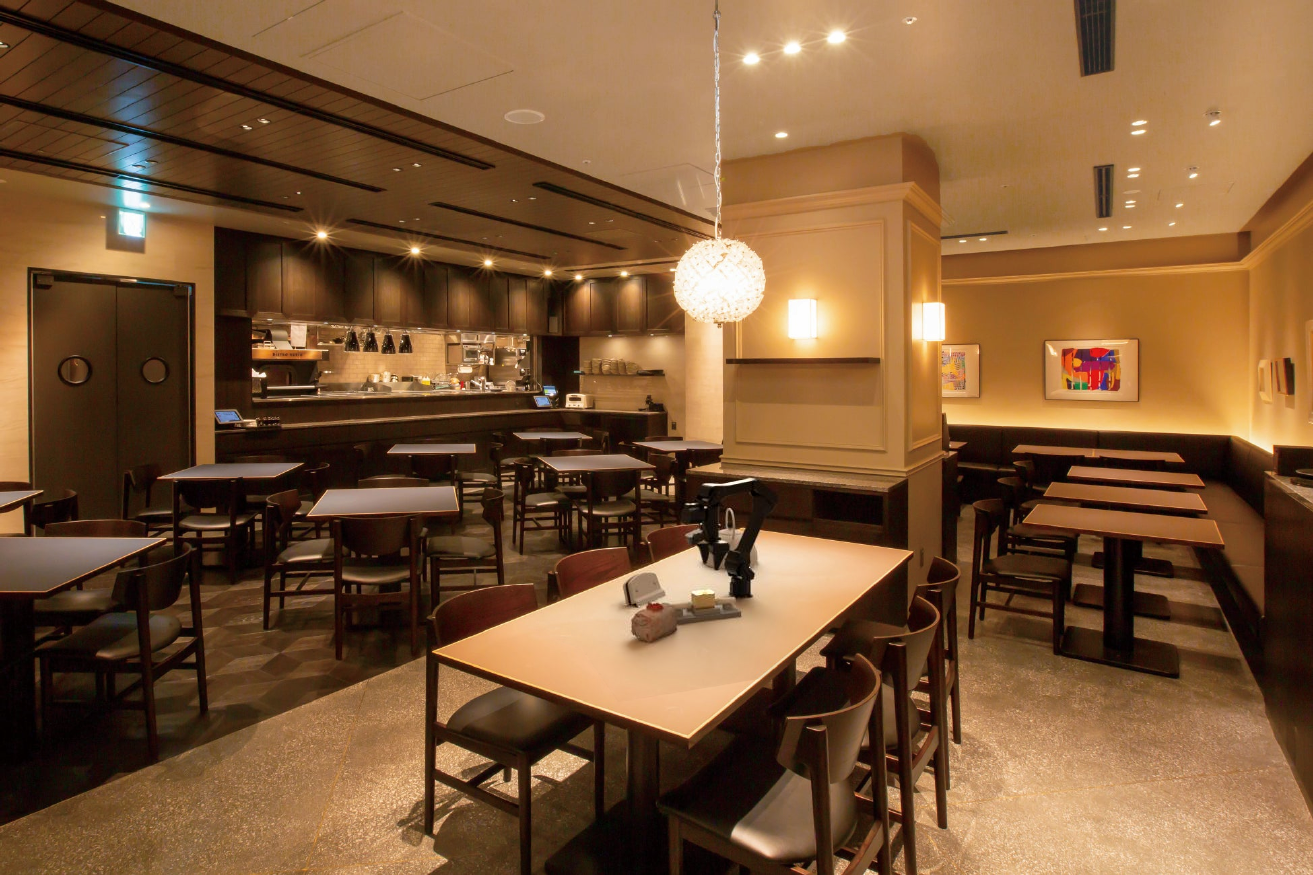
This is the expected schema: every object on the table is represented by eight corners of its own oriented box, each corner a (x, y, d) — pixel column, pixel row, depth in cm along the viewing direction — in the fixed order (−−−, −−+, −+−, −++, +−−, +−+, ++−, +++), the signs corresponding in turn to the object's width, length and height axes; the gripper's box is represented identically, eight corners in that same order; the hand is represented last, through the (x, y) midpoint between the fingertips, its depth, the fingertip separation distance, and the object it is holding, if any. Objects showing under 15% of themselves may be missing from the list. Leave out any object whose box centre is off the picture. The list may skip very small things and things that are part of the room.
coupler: (696, 613, 221) (696, 595, 221) (691, 609, 225) (691, 591, 224) (714, 611, 223) (714, 592, 223) (709, 607, 227) (709, 589, 226)
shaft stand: (727, 606, 232) (727, 592, 232) (741, 616, 223) (741, 601, 223) (665, 614, 225) (665, 599, 225) (676, 624, 216) (676, 609, 215)
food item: (649, 645, 199) (649, 611, 198) (629, 639, 204) (628, 605, 203) (679, 632, 209) (679, 600, 208) (659, 626, 214) (659, 594, 213)
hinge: (637, 607, 232) (629, 578, 234) (627, 609, 235) (619, 580, 236) (666, 595, 246) (658, 567, 247) (656, 597, 249) (648, 569, 250)
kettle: (698, 555, 304) (698, 503, 302) (750, 554, 306) (750, 502, 304) (707, 570, 279) (707, 514, 277) (763, 568, 281) (763, 513, 279)
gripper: (677, 518, 242) (677, 562, 243) (699, 528, 224) (699, 576, 226) (707, 516, 246) (707, 559, 247) (730, 525, 228) (730, 573, 229)
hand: (710, 567), depth 237 cm, fingers open, 9 cm apart
